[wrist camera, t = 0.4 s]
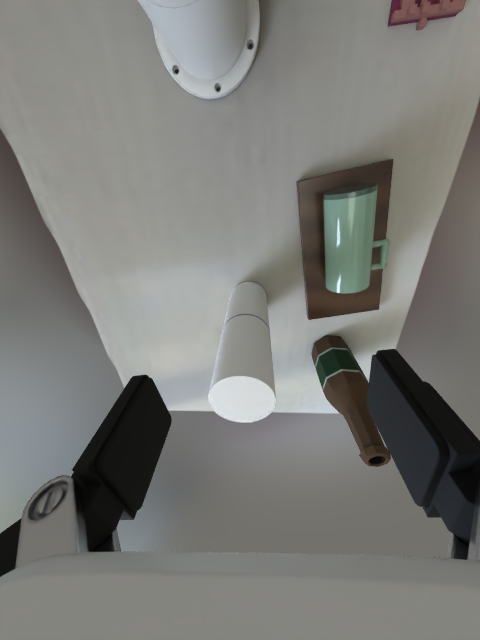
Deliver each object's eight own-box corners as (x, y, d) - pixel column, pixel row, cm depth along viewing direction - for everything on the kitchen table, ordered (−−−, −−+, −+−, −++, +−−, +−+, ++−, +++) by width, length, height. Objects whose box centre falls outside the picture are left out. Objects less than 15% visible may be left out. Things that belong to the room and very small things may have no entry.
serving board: (296, 181, 36) (298, 181, 34) (388, 159, 34) (393, 158, 32) (307, 316, 47) (308, 319, 46) (375, 305, 45) (379, 309, 44)
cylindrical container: (268, 283, 44) (281, 379, 23) (263, 316, 48) (270, 425, 26) (231, 279, 44) (208, 372, 23) (229, 312, 48) (207, 418, 27)
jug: (321, 279, 42) (318, 192, 35) (375, 270, 40) (384, 177, 33) (331, 296, 36) (330, 196, 29) (394, 286, 35) (410, 179, 28)
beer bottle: (354, 342, 50) (424, 455, 29) (332, 366, 54) (380, 482, 33) (324, 328, 49) (374, 436, 28) (303, 354, 52) (334, 466, 32)
